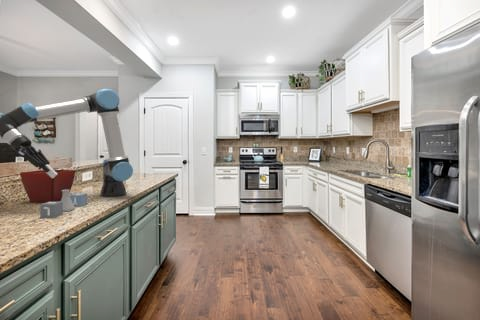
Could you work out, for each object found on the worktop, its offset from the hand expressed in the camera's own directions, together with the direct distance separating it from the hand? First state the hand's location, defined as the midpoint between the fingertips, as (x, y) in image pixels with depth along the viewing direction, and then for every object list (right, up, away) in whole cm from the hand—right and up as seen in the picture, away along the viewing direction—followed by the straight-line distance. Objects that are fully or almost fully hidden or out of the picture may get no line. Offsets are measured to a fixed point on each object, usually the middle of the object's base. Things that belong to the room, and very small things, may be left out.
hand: (54, 176), depth 130 cm
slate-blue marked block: (+4, -16, +13) cm, 21 cm away
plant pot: (-20, -16, +25) cm, 36 cm away
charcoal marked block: (+5, -17, -9) cm, 20 cm away
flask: (+4, -17, +2) cm, 18 cm away
